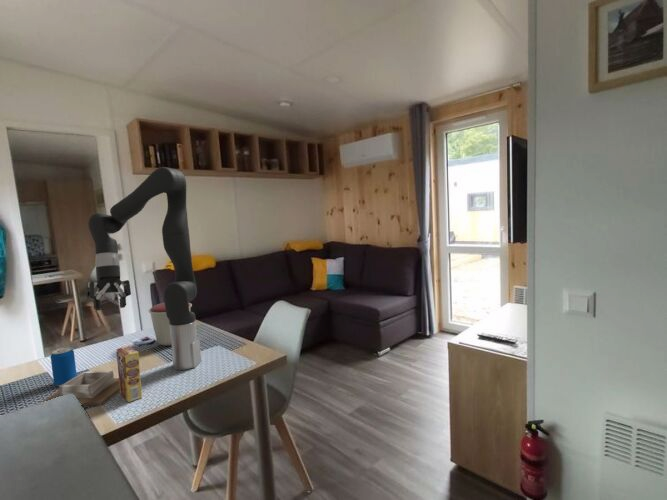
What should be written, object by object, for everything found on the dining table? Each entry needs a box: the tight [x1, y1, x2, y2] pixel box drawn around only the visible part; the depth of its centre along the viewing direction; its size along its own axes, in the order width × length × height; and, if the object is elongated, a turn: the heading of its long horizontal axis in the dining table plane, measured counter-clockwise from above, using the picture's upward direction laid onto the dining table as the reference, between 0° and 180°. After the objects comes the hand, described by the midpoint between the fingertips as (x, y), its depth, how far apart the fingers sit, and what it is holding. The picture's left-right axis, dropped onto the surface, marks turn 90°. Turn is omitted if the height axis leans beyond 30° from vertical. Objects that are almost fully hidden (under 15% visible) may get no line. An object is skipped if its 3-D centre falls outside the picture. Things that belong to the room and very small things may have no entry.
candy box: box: [116, 345, 143, 403], centre depth 109 cm, size 9×4×15 cm, turn 47°
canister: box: [147, 302, 193, 347], centre depth 157 cm, size 18×18×21 cm
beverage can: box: [50, 346, 78, 387], centre depth 120 cm, size 6×6×12 cm
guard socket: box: [39, 370, 120, 407], centre depth 112 cm, size 20×16×5 cm
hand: (110, 309), depth 126 cm, fingers open, 8 cm apart
